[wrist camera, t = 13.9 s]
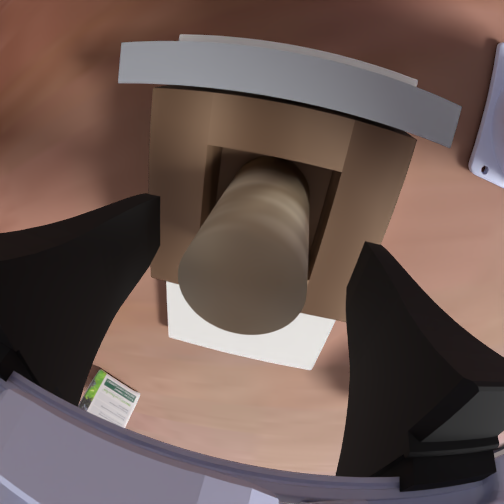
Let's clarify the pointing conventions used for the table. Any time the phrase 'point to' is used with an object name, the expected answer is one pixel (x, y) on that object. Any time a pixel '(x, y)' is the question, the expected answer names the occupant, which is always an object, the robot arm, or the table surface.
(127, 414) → the syrup box
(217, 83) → the backstop board
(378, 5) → the table surface
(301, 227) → the birch dowel
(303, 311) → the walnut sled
